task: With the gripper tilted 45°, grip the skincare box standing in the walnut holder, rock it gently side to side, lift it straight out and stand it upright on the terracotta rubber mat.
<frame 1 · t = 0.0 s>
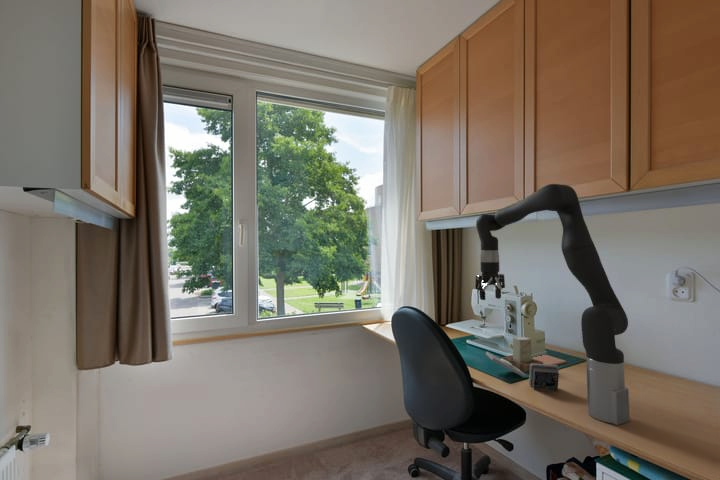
hand: (490, 299, 143), 29 cm above the table, tool pointing down, fingers open, 8 cm apart
skincare box: (522, 367, 144), resting in walnut holder
terracotta mat: (544, 360, 151), on the table
electrical switch: (545, 390, 121), on the table
light switch: (505, 374, 136), on the table
walnut holder: (522, 366, 144), on the table
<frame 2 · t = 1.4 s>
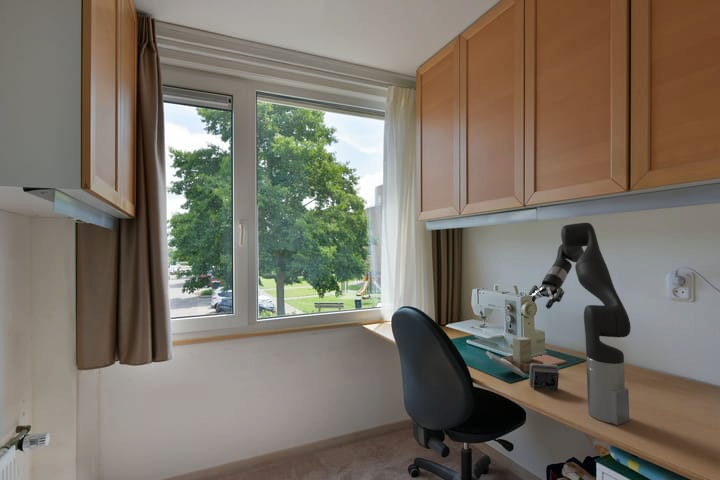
hand: (538, 305, 149), 25 cm above the table, tool tilted 45°, fingers open, 8 cm apart
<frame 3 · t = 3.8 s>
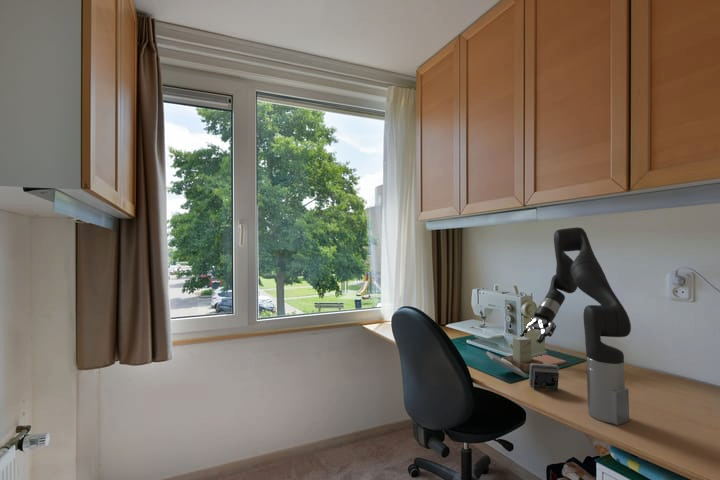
hand: (529, 339, 146), 11 cm above the table, tool tilted 45°, fingers open, 8 cm apart
nothing on the table moved.
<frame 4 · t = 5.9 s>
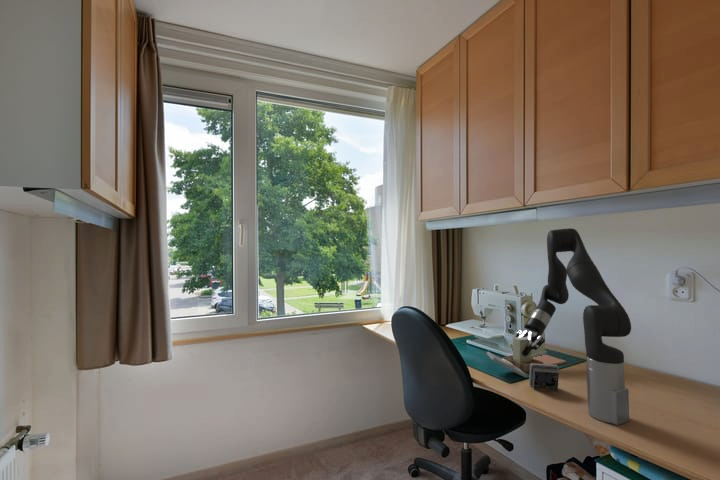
hand: (518, 353, 143), 6 cm above the table, tool tilted 45°, fingers closed on skincare box, 4 cm apart
skincare box: (522, 367, 144), resting in walnut holder, touching gripper
everything else where it was.
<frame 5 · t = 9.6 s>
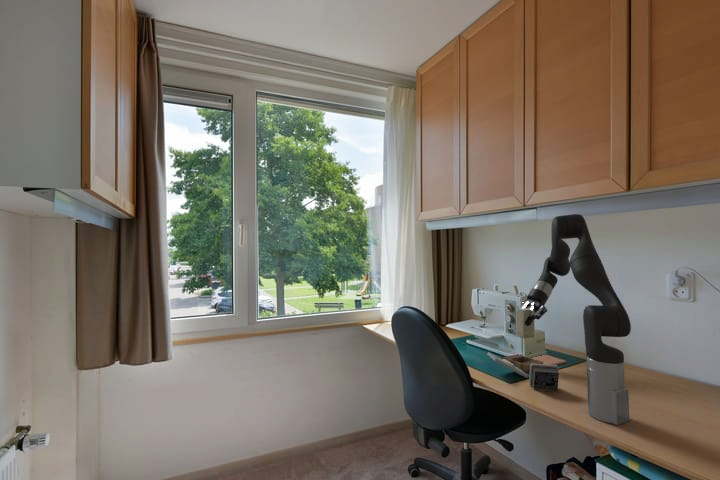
hand: (521, 323, 145), 18 cm above the table, tool tilted 45°, fingers closed on skincare box, 4 cm apart
skincare box: (524, 337, 146), point 12 cm above the table, touching gripper
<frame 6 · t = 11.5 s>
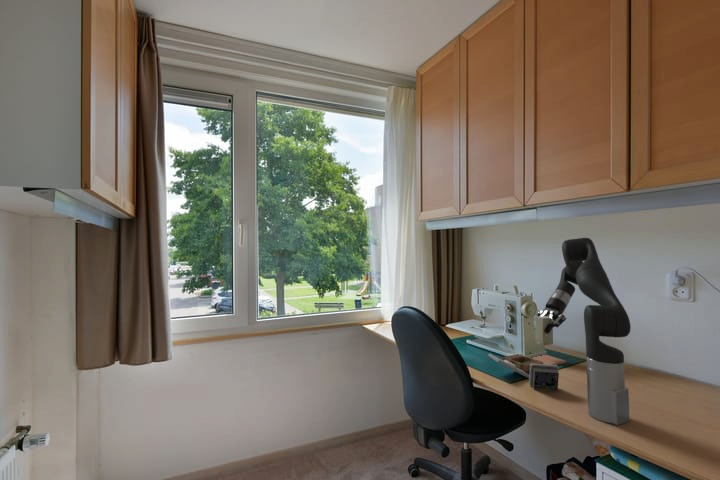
hand: (541, 331, 151), 13 cm above the table, tool tilted 45°, fingers closed on skincare box, 4 cm apart
skincare box: (544, 344, 151), point 7 cm above the table, touching gripper
light switch: (509, 376, 135), on the table
everything else where it was.
when the fingers open (8 cm above the table, at t = 13.1 s): skincare box drops 1 cm, resting on terracotta mat.
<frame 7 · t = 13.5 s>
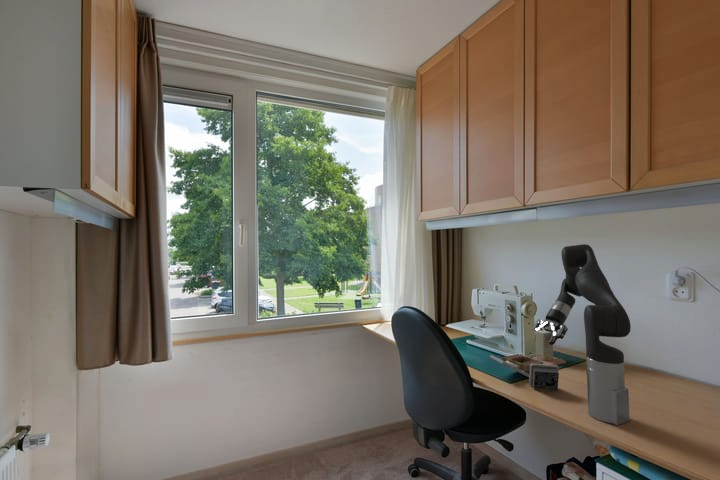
hand: (541, 341, 151), 9 cm above the table, tool tilted 45°, fingers open, 8 cm apart
skincare box: (544, 359, 151), point 1 cm above the table, touching terracotta mat
light switch: (511, 377, 133), on the table
everything else where it was.
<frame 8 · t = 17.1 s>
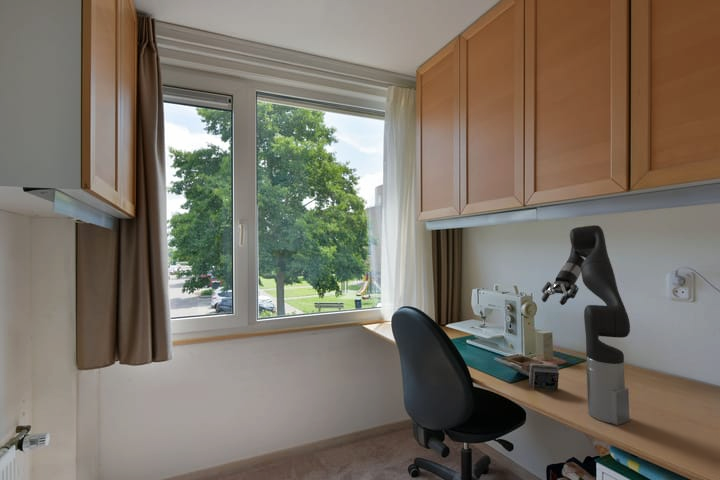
hand: (552, 302, 148), 27 cm above the table, tool tilted 45°, fingers open, 8 cm apart
light switch: (515, 378, 132), on the table
everything else where it was.
at the end: skincare box inside the target area on the terracotta mat (0.3 cm from its centre), point 0.6 cm above the terracotta mat's base; skincare box tilted 0°; the gripper is holding nothing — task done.
